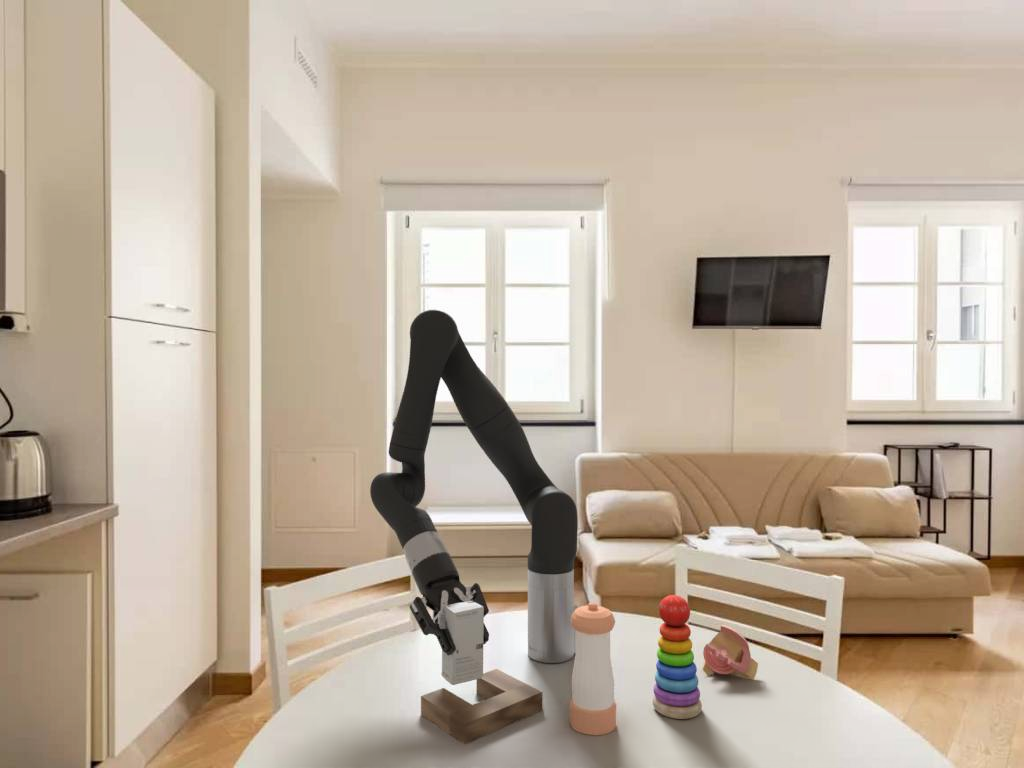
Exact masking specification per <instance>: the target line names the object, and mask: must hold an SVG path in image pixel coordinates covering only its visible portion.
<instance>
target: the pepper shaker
mask: <svg viewBox="0 0 1024 768" xmlns="http://www.w3.org/2000/svg"><path fill="white" fill-rule="evenodd" d="M570 620H571V623H572V626H573V628H574V629H575V630H576V653H575V654H574V656H575V657H574V662H573V668H572V676H571V687H572V688H571V690H572V693H571V695H572V696H571V698H570V701H569V723H570V726H571V728H573V730H575V731H576V732H578V733H581V734H585V735H589V736H602V735H607V734H609V733H612V732H613V731H614V730H615V729H616V727H617V703H616V700H615V698H614V694H615V692H614V691H615V678H614V672H613V666H612V659H611V631H612V630H613V628H614V627H615V625H616V620H615V617H614V615H613V613H612V611H611V610H610V609H609V608H606V607H604V606H601V605H598V604H597V602H589V603H588V604H586V605H582V606H579V607H577V609H575V611H574V612H573V614H572V616H571V619H570Z"/></svg>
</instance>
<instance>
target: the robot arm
mask: <svg viewBox="0 0 1024 768" xmlns="http://www.w3.org/2000/svg"><path fill="white" fill-rule="evenodd" d="M409 339H410V340H409V341H410V343H409V357H408V359H409V360H408V368H407V374H406V379H405V380H406V381H405V384H404V389H403V392H402V396H401V399H400V403H399V405H398V409H397V413H396V417H395V420H394V425H393V428H392V429H393V430H392V432H391V437H390V438H391V439H390V442H389V447H388V455H389V457H390V459H392V460H393V461H397V462H399V463H401V469H402V470H401V472H392V471H391V472H387V471H386V472H381V473H379V474H377V475H376V476H375V477H373V479H372V481H371V484H370V489H369V491H370V498H371V501H372V505H373V506H374V508H375V509H376V511H377V512H378V513H379V515H381V517H382V518H383V520H384V521H385V522H386V524H387V525H388V526H389V527H390V528H391V529H392V530H393V532H394V533H395V535H396V536H397V539H398V541H399V544H400V546H401V548H402V551H403V554H404V557H405V560H406V564H407V566H408V568H409V570H410V573H411V575H412V577H413V580H414V582H415V584H416V586H417V589H418V591H419V593H420V595H422V597H419V596H416V597H415V598H414V599H413V601H412V602H411V603H410V605H409V609H410V611H411V613H412V615H413V617H414V619H415V621H416V622H417V624H418V626H419V628H420V630H421V632H422V634H423V635H425V636H429V635H433V636H435V637H436V638H437V639H436V640H437V641H438V643H439V645H440V648H441V651H442V650H443V652H444V653H446V654H447V655H452V654H453V653H454V651H455V650H456V647H455V644H454V642H453V640H452V638H451V635H450V633H449V631H448V629H445V627H446V613H445V610H444V608H443V606H445V605H451V604H455V603H461V602H468V601H473V602H475V603H477V604H479V605H481V606H483V607H484V618H485V617H486V616H487V615H488V614H489V612H490V609H489V607H488V603H487V602H486V599H485V597H484V594H483V592H482V589H481V586H480V585H479V583H476V582H475V583H473V584H472V585H471V586H465V585H464V584H463V583H462V582H461V580H460V574H459V571H458V570H457V567H456V565H455V562H454V561H453V559H452V556H451V554H450V553H449V551H448V548H447V546H446V544H445V542H444V541H443V539H442V537H441V536H440V535H439V532H438V530H437V528H436V527H435V524H434V522H433V520H432V517H431V516H430V514H428V512H427V510H424V509H422V508H420V507H418V505H420V503H421V502H422V500H423V498H424V496H425V492H426V470H425V469H426V465H425V464H426V462H425V461H426V460H425V455H426V451H427V445H428V443H429V442H428V441H429V437H430V434H431V430H432V429H431V428H432V424H433V419H434V418H433V417H434V413H435V412H434V411H435V405H436V401H437V394H438V391H439V389H438V388H439V385H440V382H441V379H442V380H443V382H444V384H445V386H446V387H447V389H448V391H449V394H450V396H451V397H452V400H453V403H454V404H455V406H456V409H457V410H458V413H459V415H460V417H461V418H462V420H463V422H464V424H465V425H466V427H467V429H468V430H469V432H470V433H471V435H472V436H473V438H474V439H475V441H476V442H477V444H478V445H479V447H480V448H481V450H483V453H484V454H485V455H486V456H487V458H488V459H489V460H490V461H491V463H492V464H493V465H494V467H495V468H496V469H497V470H498V471H499V472H500V474H501V475H502V476H503V477H504V479H505V480H506V482H507V483H508V485H509V487H510V488H511V491H512V492H513V494H514V496H515V497H516V499H517V501H518V504H519V506H520V509H521V510H522V511H523V514H524V516H525V518H526V520H527V521H528V522H529V524H530V525H531V546H530V547H531V548H530V552H529V553H528V556H527V655H528V657H529V658H530V659H532V660H534V661H536V662H539V663H544V664H545V663H546V664H559V663H560V664H561V663H564V662H568V661H570V660H572V659H573V658H574V656H575V655H576V630H575V629H574V628H573V626H572V623H571V620H570V619H571V616H572V614H573V612H574V611H575V609H577V608H578V605H577V604H575V594H574V592H575V585H574V584H575V583H574V581H575V577H574V576H575V574H574V573H575V571H574V568H575V558H576V555H577V550H578V549H577V548H578V524H579V523H578V522H579V521H578V509H577V506H576V503H575V501H574V499H573V498H572V497H571V495H569V494H568V493H566V492H565V491H563V490H561V489H559V488H558V487H557V486H556V485H555V484H554V482H553V481H552V480H551V479H550V477H549V476H548V475H547V474H546V472H545V471H544V469H543V468H542V467H541V466H540V465H539V462H538V461H537V459H536V458H535V456H534V453H533V450H532V448H531V445H530V442H529V440H528V437H527V434H526V433H525V431H524V428H523V426H522V425H521V423H520V421H519V419H518V417H517V415H515V413H514V412H513V410H512V408H511V407H510V405H509V404H508V402H507V401H506V399H505V398H504V396H503V395H502V394H501V392H500V391H499V390H498V389H497V388H496V386H495V385H494V383H492V381H491V380H490V379H489V378H488V376H486V374H485V373H484V372H483V371H482V370H481V369H480V367H479V366H478V365H477V363H476V362H475V361H474V359H473V357H472V356H471V353H470V351H469V350H468V348H467V346H466V345H465V343H464V340H463V338H462V336H461V334H460V331H459V329H458V325H457V323H456V321H455V319H454V318H453V317H452V316H451V315H450V314H448V312H446V311H444V310H441V309H436V308H435V309H431V308H430V309H427V310H425V311H423V312H420V313H419V314H418V315H416V317H414V319H413V320H412V322H411V324H410V328H409ZM427 607H428V609H430V610H432V615H430V613H429V611H428V609H427ZM489 637H490V633H489V631H488V628H487V626H486V624H485V623H484V634H483V646H484V645H486V644H487V642H488V641H489V639H490V638H489Z"/></svg>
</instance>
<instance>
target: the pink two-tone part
mask: <svg viewBox="0 0 1024 768" xmlns="http://www.w3.org/2000/svg"><path fill="white" fill-rule="evenodd" d="M703 659H704V662H703V667H702V671H703V672H704V673H705V674H706V676H708V677H710V676H711V675H712V672H714V673H717V674H719V675H729V674H731V675H734V676H737V677H740V678H744V679H750V680H752V681H754V680H755V677H756V675H757V672H758V666H759V663H758V662H757V661H755V659H754V658H752V656H751V650H750V646H749V642H748V640H747V639H746V638H745V637H744V635H742V634H741V632H739V631H738V630H737V629H735V628H733V627H731V626H729V625H726V624H721V625H720V631H719V632H718V633H717V634H716V635H715V636H713V638H712V639H711V641H710V642H709V643H706V644H705V646H704V647H703Z"/></svg>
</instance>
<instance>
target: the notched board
mask: <svg viewBox="0 0 1024 768" xmlns="http://www.w3.org/2000/svg"><path fill="white" fill-rule="evenodd" d="M476 695H479V696H481V697H483V698H484V700H482V701H479V702H477V703H476V702H475V703H474V704H472V703H470V702H468V701H467V700H465V699H463V698H461V697H460V696H458V695H456V694H455V693H453V692H451V691H449V690H448V689H446V688H445V687H442V688H439V689H437V690H435V691H431V692H428V693H425V694H422V695H421V696H420V715H421V716H423V717H424V718H425V719H426V720H429V721H430V722H431V723H433V724H435V726H438V727H439V728H440V727H441V728H440V729H442V730H444V731H445V732H446V731H447V732H446V733H448V734H449V733H450V735H451V736H452V737H454V738H456V739H457V740H458V741H460V742H461V741H462V742H461V743H463V744H465V745H466V744H468V743H470V742H471V743H472V742H473V741H475V740H478V739H480V738H482V737H485V736H487V735H489V734H491V733H494V732H496V731H497V730H500V729H502V728H504V727H507V726H509V725H512V724H514V723H517V722H518V721H521V720H523V719H525V718H527V717H531V716H532V715H534V714H537V713H539V712H541V711H543V691H541V690H540V689H538V688H536V687H533V686H531V685H530V684H527V683H526V682H524V681H522V680H519V679H517V678H515V677H513V676H512V675H509V674H508V673H506V672H504V671H502V670H501V669H498V668H495V669H493V670H489V671H486V672H483V677H482V678H480V679H476Z"/></svg>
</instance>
